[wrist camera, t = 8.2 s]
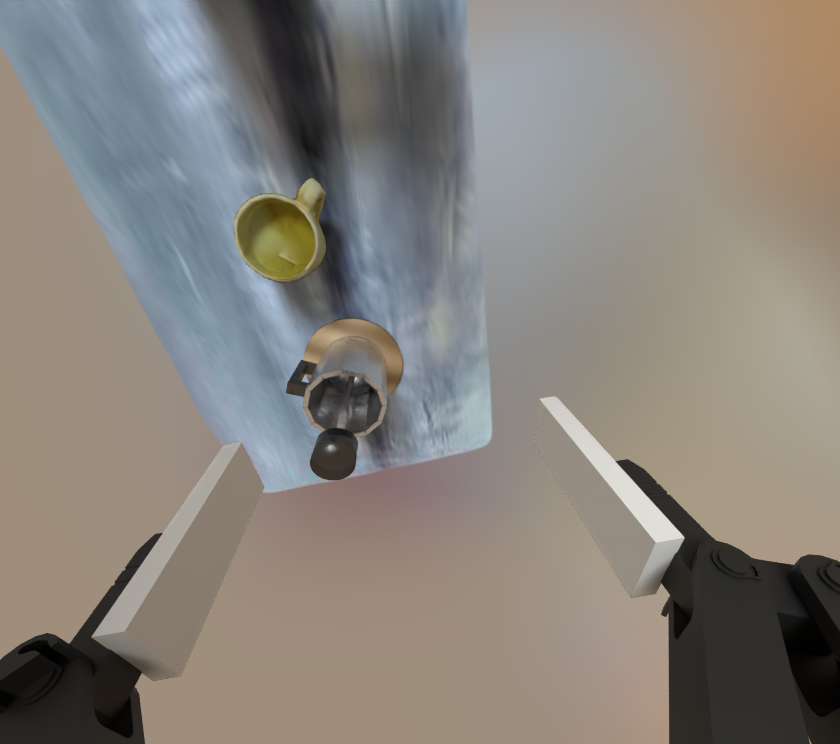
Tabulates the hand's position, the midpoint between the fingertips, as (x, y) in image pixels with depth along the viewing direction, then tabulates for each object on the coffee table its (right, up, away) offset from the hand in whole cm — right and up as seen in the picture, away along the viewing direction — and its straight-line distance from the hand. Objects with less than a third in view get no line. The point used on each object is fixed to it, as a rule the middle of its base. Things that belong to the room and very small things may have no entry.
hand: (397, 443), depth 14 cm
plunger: (-10, +3, +34) cm, 35 cm away
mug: (-15, +23, +27) cm, 38 cm away
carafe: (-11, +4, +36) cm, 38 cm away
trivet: (-10, +4, +37) cm, 38 cm away
